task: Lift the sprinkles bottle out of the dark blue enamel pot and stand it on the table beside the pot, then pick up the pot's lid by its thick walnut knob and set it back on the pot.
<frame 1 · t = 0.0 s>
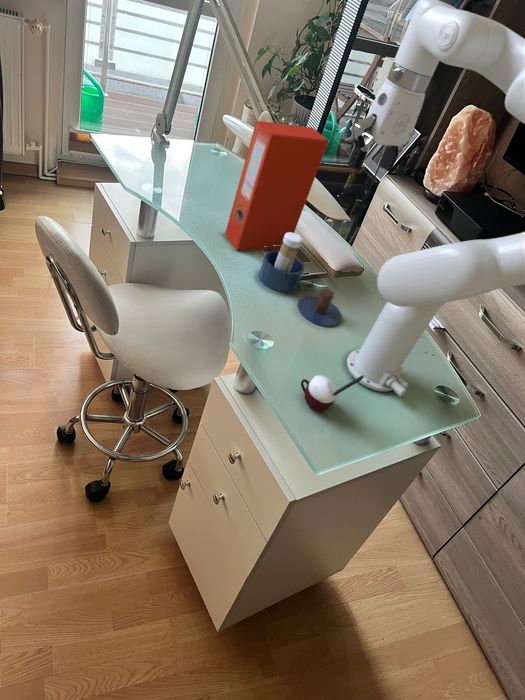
hand: (369, 168, 103), 37 cm above the table, tool pointing down, fingers open, 9 cm apart
sprinkles bottle: (277, 281, 130), resting on pot
pot lid: (319, 311, 125), point 1 cm above the table
file binder: (256, 242, 143), on the table
cocoa: (316, 405, 101), on the table
pot: (277, 282, 130), on the table
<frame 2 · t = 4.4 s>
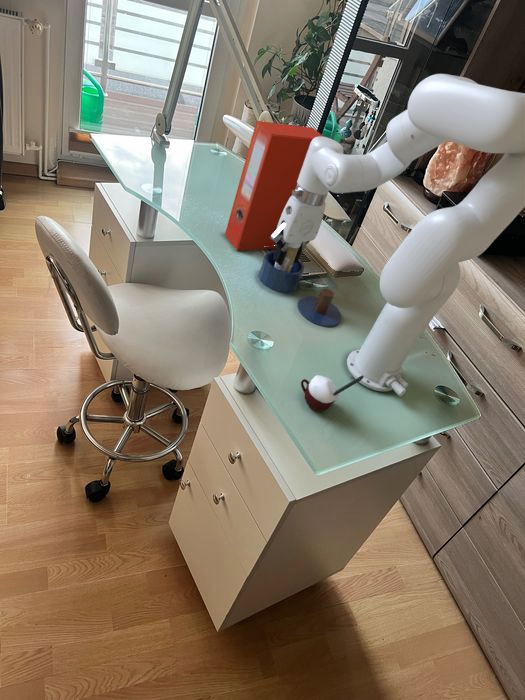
hand: (285, 260, 126), 7 cm above the table, tool pointing down, fingers closed on sprinkles bottle, 4 cm apart
sprinkles bottle: (277, 281, 130), resting on pot, touching gripper
everything else where it was.
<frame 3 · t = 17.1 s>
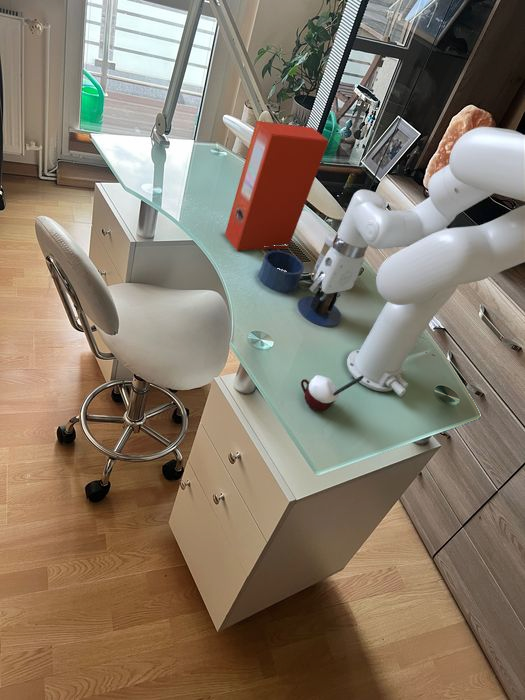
hand: (320, 308, 124), 2 cm above the table, tool pointing down, fingers closed on pot lid, 3 cm apart
sprinkles bottle: (317, 280, 137), on the table
pot lid: (319, 311, 125), point 1 cm above the table, touching gripper
everything else where it was.
when the fingers open (7 cm above the table, at t = 24.0 s): pot lid stays where it is, resting on pot.
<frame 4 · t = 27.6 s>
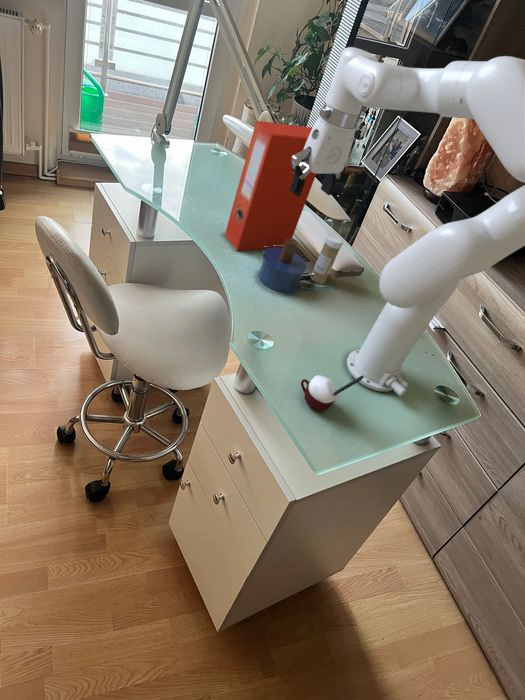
hand: (310, 192, 115), 25 cm above the table, tool pointing down, fingers open, 9 cm apart
pot lid: (284, 261, 127), point 6 cm above the table, touching pot
everything else where it was.
at the end: sprinkles bottle inside the target area (0.1 cm from its centre), on the table; sprinkles bottle tilted 0°; pot lid 0.1 cm off-centre on the pot, point 6.3 cm above the pot's base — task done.
